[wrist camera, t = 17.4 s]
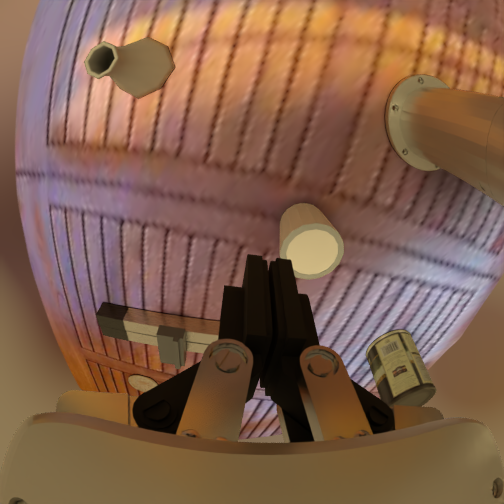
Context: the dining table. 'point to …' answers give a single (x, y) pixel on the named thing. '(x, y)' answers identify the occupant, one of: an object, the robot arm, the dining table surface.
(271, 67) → the dining table surface
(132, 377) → the flatbread
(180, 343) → the sleeve
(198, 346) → the tongs base
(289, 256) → the beige tapered cylinder
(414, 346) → the coffee can
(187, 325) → the arm
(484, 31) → the dining table surface
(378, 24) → the dining table surface
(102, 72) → the flask
